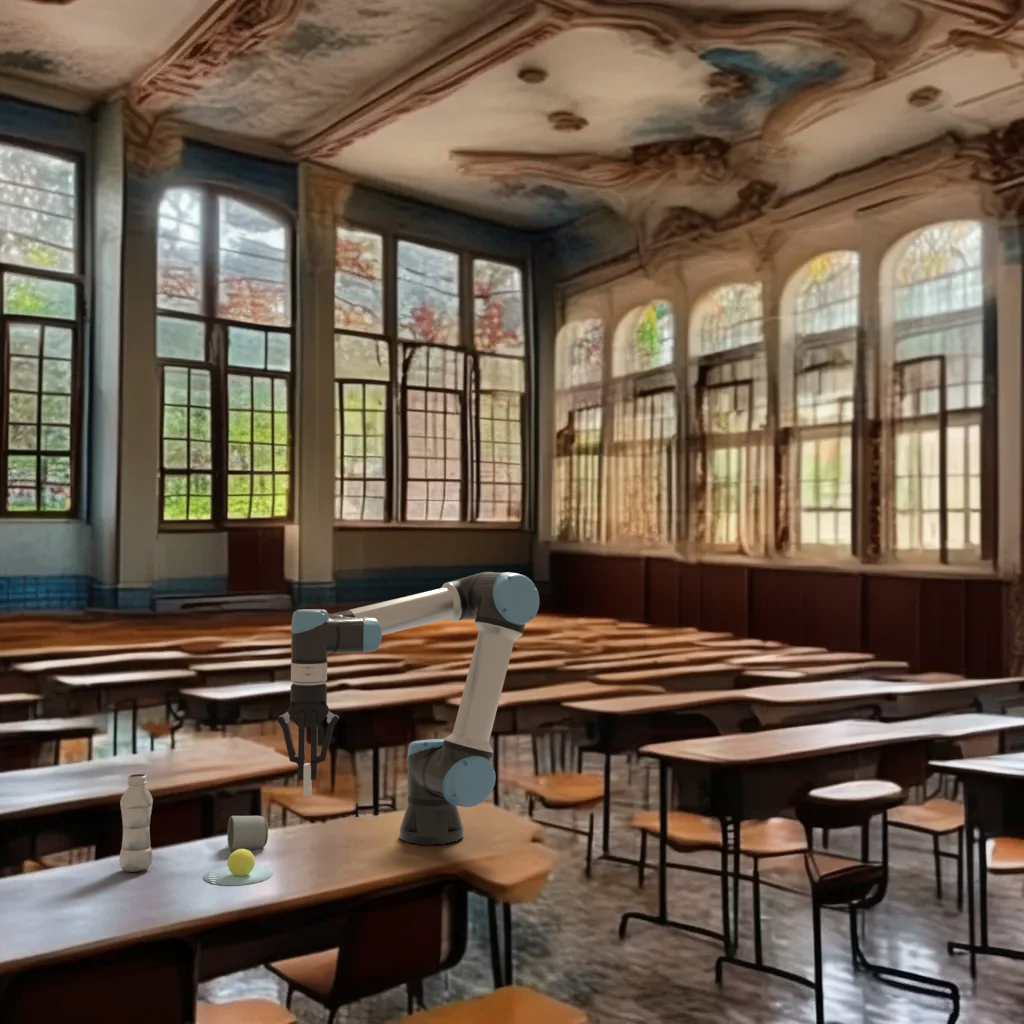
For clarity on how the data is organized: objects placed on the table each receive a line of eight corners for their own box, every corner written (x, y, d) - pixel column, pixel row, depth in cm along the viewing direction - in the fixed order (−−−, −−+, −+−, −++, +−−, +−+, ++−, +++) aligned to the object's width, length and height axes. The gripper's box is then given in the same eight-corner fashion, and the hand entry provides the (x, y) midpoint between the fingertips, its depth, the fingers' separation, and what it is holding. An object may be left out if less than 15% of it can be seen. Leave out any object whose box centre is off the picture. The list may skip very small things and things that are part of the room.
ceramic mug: (269, 850, 251) (269, 816, 251) (232, 854, 247) (233, 819, 248) (258, 840, 260) (259, 807, 261) (223, 844, 257) (223, 810, 257)
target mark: (276, 865, 239) (276, 864, 239) (268, 884, 225) (268, 883, 225) (209, 866, 238) (209, 865, 238) (197, 886, 224) (197, 885, 224)
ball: (248, 876, 234) (261, 853, 235) (244, 884, 229) (257, 860, 229) (225, 864, 234) (238, 841, 234) (220, 871, 228) (234, 847, 229)
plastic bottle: (158, 870, 235) (159, 775, 235) (128, 877, 230) (130, 780, 230) (142, 864, 239) (144, 771, 240) (113, 871, 234) (115, 775, 235)
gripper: (275, 685, 230) (273, 799, 229) (339, 684, 231) (337, 798, 230) (279, 680, 237) (277, 791, 237) (341, 680, 239) (339, 791, 238)
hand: (307, 795), depth 233 cm, fingers closed
